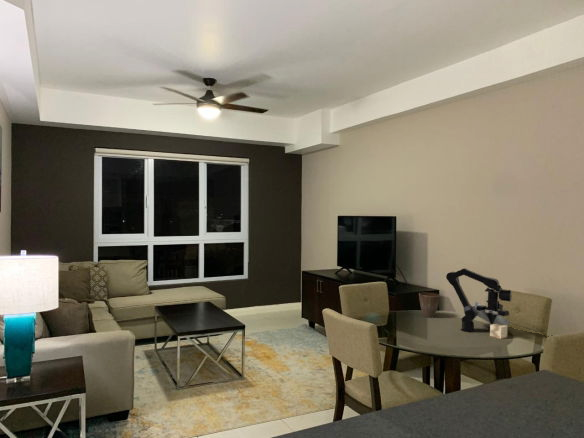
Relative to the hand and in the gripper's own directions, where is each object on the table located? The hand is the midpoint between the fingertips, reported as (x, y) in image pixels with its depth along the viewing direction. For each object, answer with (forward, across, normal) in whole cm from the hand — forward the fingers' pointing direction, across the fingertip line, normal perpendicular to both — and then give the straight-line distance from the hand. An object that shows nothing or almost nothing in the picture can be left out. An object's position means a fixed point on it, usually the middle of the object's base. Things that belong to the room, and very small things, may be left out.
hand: (491, 324), depth 278 cm
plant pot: (+7, +51, -5) cm, 52 cm away
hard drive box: (+3, +3, -19) cm, 19 cm away
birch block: (+7, -5, 0) cm, 8 cm away
